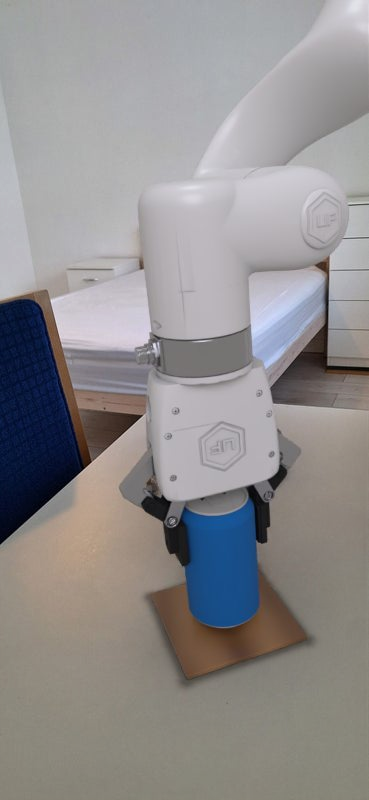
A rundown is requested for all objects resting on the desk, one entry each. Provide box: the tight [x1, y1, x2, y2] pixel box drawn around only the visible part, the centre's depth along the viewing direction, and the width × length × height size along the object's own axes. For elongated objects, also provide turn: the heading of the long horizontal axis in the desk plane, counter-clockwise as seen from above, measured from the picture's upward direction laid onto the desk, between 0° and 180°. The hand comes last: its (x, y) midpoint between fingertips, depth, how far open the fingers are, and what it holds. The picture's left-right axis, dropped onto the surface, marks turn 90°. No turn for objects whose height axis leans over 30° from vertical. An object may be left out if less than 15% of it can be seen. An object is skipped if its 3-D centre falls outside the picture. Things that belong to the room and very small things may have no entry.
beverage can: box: [181, 487, 260, 628], centre depth 53 cm, size 6×6×12 cm
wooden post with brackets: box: [145, 477, 157, 493], centre depth 78 cm, size 2×8×4 cm, turn 175°
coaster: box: [150, 569, 308, 680], centre depth 55 cm, size 11×11×1 cm
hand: (219, 544), depth 52 cm, fingers closed on beverage can, 6 cm apart
